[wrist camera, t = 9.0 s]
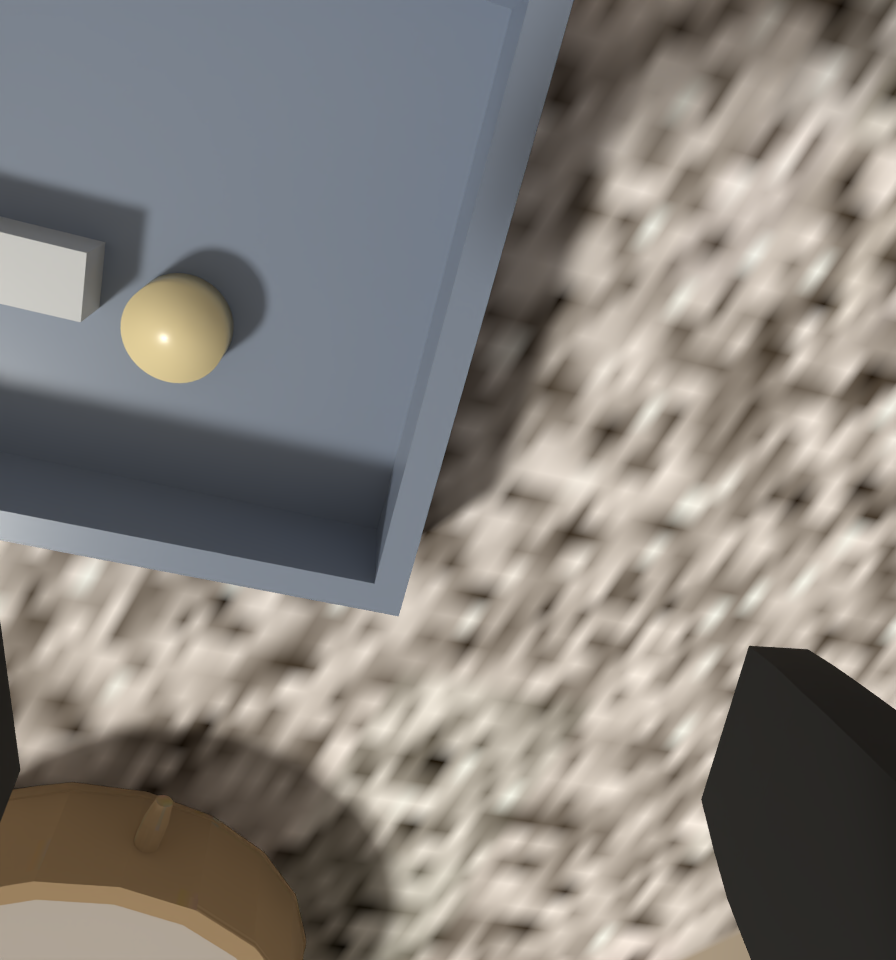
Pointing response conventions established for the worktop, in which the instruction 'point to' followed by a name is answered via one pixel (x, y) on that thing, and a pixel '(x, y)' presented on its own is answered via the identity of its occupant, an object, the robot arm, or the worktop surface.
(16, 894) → the alarm clock
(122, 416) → the blue-grey tray
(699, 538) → the worktop surface
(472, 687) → the worktop surface
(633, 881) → the worktop surface
